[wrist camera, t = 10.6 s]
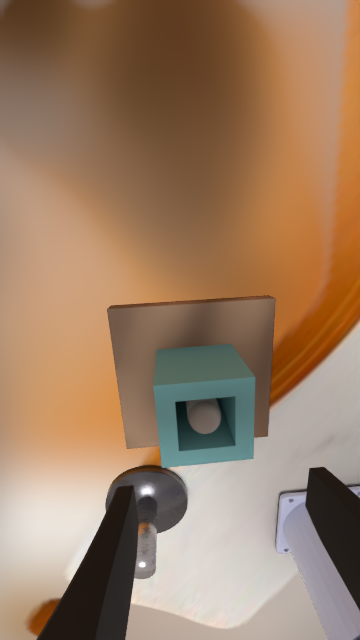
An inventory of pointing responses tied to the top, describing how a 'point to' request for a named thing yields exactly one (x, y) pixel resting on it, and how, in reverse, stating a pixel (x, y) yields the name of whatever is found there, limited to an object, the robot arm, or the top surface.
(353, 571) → the robot arm
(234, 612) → the top surface
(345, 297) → the top surface
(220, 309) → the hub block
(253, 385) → the teal collar
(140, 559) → the round base with peg
